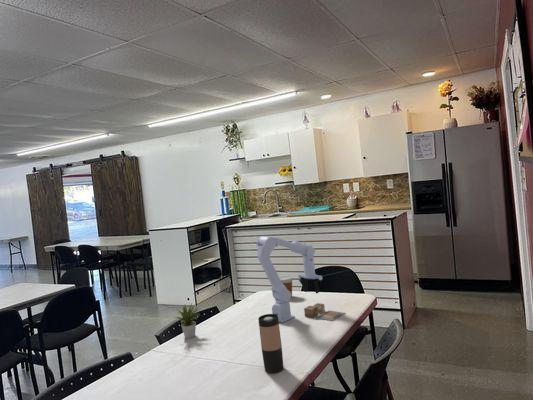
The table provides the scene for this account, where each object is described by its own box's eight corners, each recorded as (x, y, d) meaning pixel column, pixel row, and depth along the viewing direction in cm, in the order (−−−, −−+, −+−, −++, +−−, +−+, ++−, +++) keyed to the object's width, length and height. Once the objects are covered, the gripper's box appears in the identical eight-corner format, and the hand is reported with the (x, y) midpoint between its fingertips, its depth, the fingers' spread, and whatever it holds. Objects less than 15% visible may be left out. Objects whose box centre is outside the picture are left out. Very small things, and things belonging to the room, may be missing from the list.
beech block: (320, 313, 206) (319, 306, 206) (314, 312, 209) (313, 305, 208) (325, 311, 209) (324, 303, 209) (318, 310, 211) (318, 302, 211)
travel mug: (272, 363, 154) (266, 312, 154) (288, 367, 149) (282, 315, 149) (260, 371, 148) (253, 319, 148) (275, 375, 143) (269, 321, 143)
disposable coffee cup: (277, 299, 240) (275, 280, 239) (281, 295, 249) (279, 276, 249) (292, 299, 237) (290, 279, 237) (296, 294, 246) (294, 275, 246)
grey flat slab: (332, 321, 192) (332, 320, 192) (315, 318, 199) (315, 317, 199) (345, 313, 201) (345, 312, 201) (329, 310, 208) (329, 310, 208)
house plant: (198, 342, 185) (193, 308, 184) (170, 343, 188) (166, 309, 187) (208, 331, 199) (204, 299, 198) (182, 332, 202) (179, 300, 201)
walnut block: (312, 318, 200) (311, 309, 200) (305, 316, 204) (304, 308, 203) (318, 315, 204) (317, 306, 204) (310, 313, 207) (309, 305, 207)
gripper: (324, 266, 211) (327, 291, 211) (302, 264, 221) (305, 288, 221) (316, 269, 205) (319, 294, 206) (295, 267, 215) (297, 292, 216)
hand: (311, 292), depth 213 cm, fingers open, 7 cm apart
